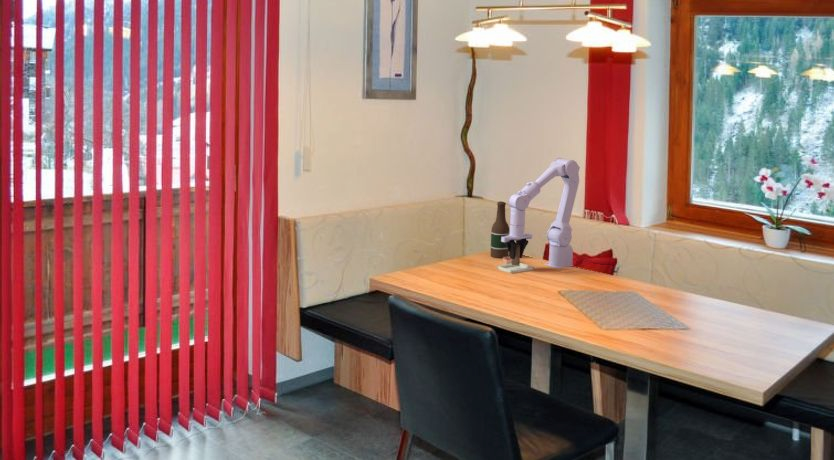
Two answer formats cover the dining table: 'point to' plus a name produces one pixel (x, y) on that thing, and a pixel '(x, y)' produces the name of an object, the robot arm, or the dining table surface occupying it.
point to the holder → (506, 260)
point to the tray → (515, 268)
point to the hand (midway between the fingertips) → (515, 258)
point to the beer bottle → (499, 233)
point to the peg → (516, 256)
